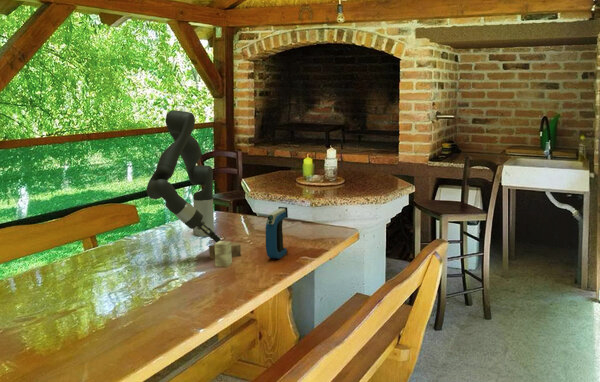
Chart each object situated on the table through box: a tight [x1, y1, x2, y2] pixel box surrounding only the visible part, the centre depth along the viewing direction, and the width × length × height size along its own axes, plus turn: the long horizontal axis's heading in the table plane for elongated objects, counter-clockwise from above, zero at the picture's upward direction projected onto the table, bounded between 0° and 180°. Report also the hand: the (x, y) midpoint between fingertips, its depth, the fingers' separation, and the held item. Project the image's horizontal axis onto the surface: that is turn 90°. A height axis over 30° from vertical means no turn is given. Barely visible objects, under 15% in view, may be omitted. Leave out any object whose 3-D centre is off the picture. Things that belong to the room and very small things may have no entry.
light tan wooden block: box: [208, 242, 242, 261], centre depth 261 cm, size 5×5×12 cm
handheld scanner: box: [265, 206, 289, 260], centre depth 259 cm, size 5×16×20 cm, turn 161°
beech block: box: [214, 240, 233, 268], centre depth 249 cm, size 5×5×9 cm
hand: (218, 241), depth 260 cm, fingers closed
